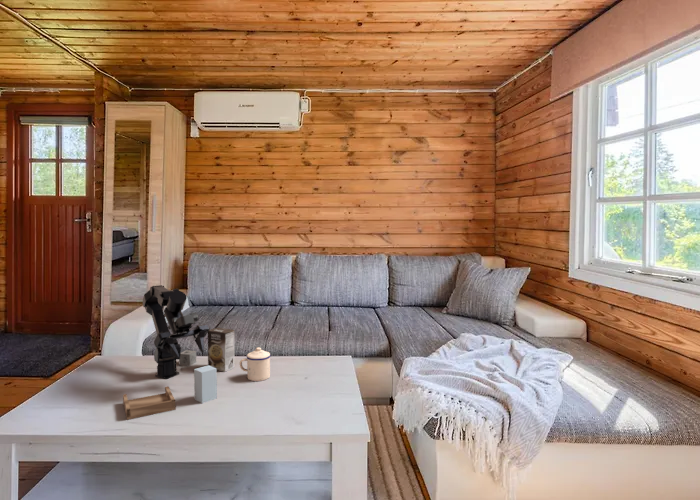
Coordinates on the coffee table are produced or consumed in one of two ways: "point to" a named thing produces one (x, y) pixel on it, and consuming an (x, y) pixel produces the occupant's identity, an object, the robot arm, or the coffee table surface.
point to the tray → (149, 404)
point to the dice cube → (187, 358)
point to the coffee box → (221, 349)
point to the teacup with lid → (257, 365)
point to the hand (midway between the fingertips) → (191, 355)
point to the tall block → (205, 383)
